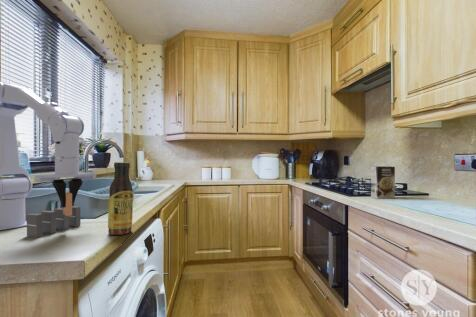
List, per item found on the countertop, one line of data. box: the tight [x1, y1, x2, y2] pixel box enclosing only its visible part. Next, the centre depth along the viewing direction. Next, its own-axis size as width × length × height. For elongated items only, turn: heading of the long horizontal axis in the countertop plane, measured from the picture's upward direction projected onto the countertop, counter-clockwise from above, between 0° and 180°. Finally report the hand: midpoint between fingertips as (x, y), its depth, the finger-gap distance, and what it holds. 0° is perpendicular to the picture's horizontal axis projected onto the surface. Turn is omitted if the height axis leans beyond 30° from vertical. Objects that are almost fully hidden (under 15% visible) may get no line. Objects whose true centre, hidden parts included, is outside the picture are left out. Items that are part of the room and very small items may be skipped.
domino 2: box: [40, 210, 57, 235], centre depth 74 cm, size 1×4×6 cm, turn 71°
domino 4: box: [62, 191, 72, 216], centre depth 73 cm, size 1×4×6 cm, turn 46°
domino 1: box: [26, 213, 44, 239], centre depth 70 cm, size 1×4×6 cm, turn 71°
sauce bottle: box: [107, 161, 134, 236], centre depth 73 cm, size 7×6×20 cm
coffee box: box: [370, 165, 396, 200], centre depth 133 cm, size 9×6×16 cm
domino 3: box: [54, 207, 70, 231], centre depth 77 cm, size 1×4×6 cm, turn 71°
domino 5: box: [69, 205, 81, 227], centre depth 81 cm, size 1×4×6 cm, turn 71°
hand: (67, 206), depth 73 cm, fingers closed on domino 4, 1 cm apart
